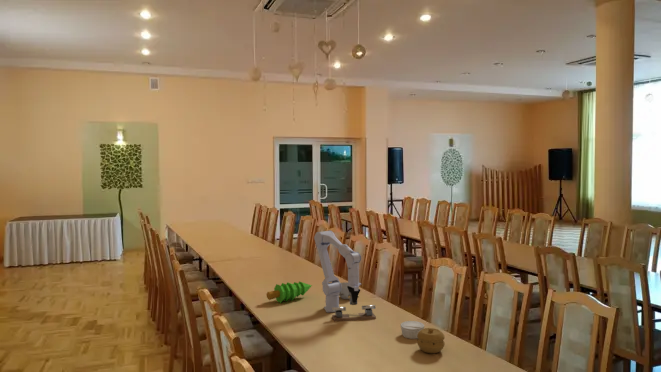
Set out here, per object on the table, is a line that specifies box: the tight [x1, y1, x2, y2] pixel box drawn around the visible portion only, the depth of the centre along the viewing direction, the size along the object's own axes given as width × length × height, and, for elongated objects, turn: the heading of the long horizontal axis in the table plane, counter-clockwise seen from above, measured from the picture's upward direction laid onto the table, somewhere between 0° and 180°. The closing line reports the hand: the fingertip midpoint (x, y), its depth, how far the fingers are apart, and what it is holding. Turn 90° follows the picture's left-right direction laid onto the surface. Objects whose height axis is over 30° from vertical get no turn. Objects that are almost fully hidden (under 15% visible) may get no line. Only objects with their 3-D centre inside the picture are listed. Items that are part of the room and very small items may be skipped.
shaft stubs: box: [332, 304, 376, 318], centre depth 255 cm, size 4×23×5 cm, turn 99°
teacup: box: [339, 281, 360, 300], centre depth 292 cm, size 15×12×8 cm
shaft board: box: [331, 311, 377, 322], centre depth 255 cm, size 7×22×1 cm, turn 99°
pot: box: [416, 327, 446, 354], centre depth 210 cm, size 12×12×10 cm
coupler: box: [348, 293, 360, 306], centre depth 255 cm, size 4×6×6 cm, turn 104°
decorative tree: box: [265, 281, 313, 304], centre depth 289 cm, size 11×12×30 cm
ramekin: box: [400, 320, 425, 340], centre depth 229 cm, size 11×11×5 cm
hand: (353, 301), depth 255 cm, fingers closed on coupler, 4 cm apart
